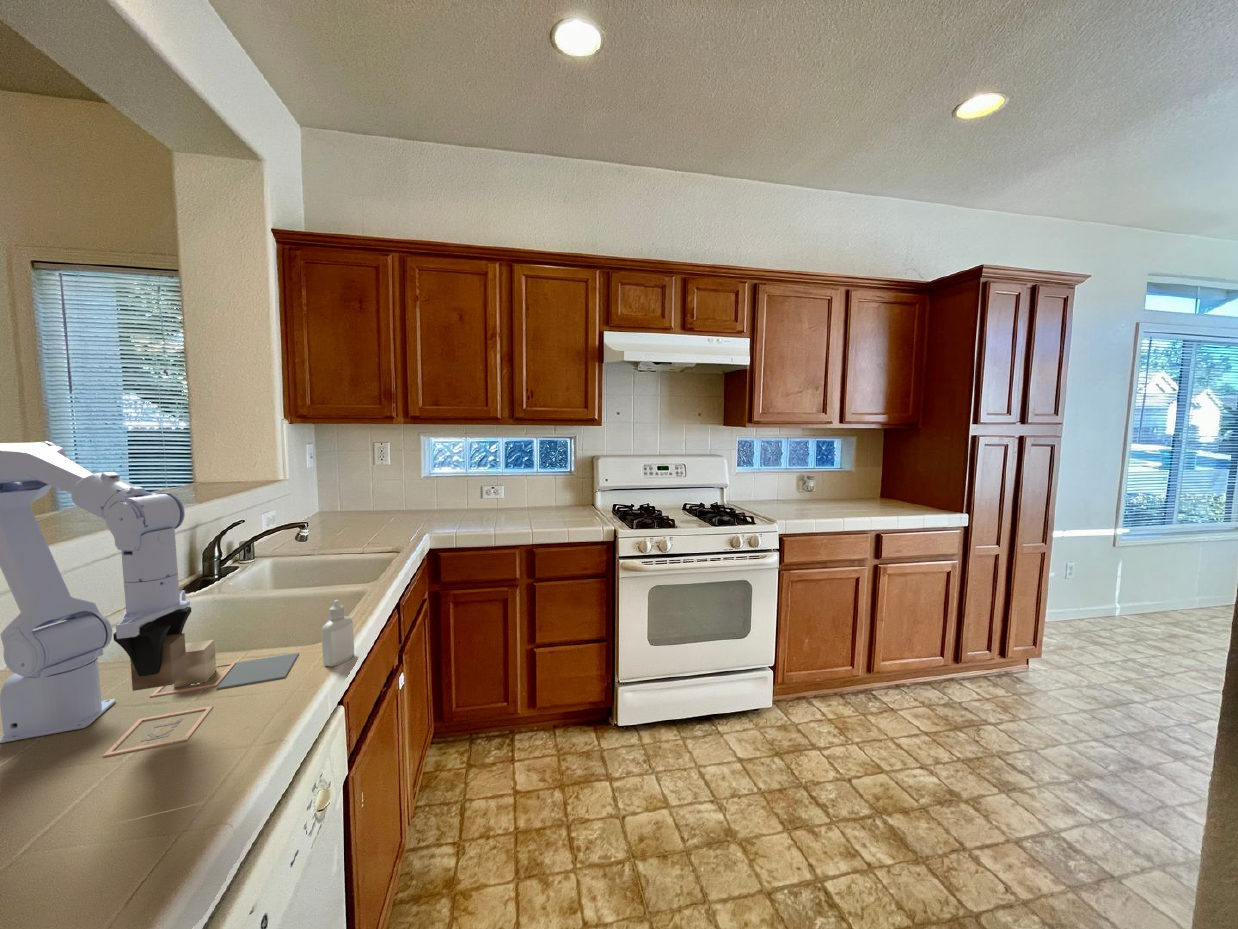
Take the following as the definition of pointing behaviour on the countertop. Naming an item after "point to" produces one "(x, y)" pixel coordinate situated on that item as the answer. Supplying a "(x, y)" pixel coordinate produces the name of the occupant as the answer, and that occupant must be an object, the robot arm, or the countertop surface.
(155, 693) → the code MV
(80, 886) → the countertop surface
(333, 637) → the eye dropper bottle
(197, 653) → the oak block
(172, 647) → the walnut block
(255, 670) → the coaster
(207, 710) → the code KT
